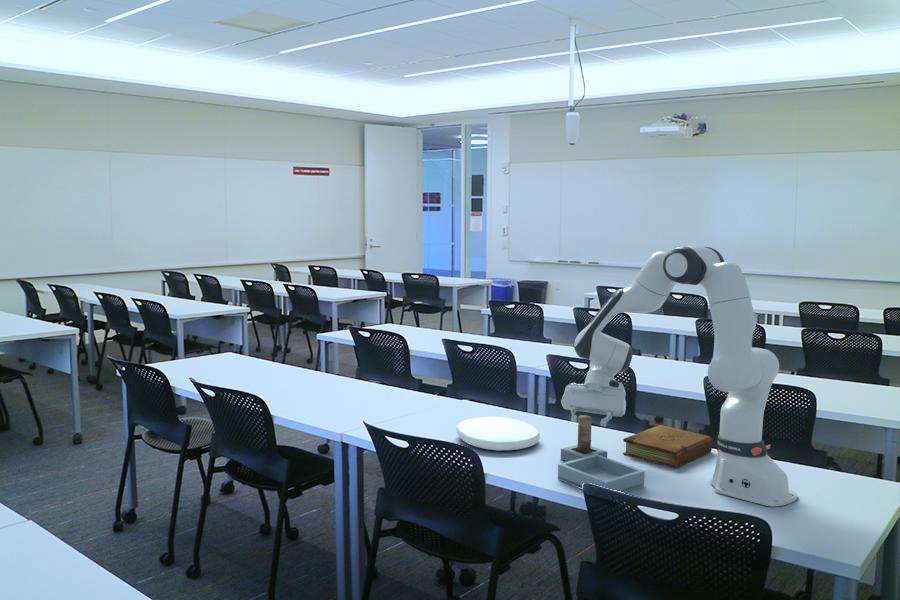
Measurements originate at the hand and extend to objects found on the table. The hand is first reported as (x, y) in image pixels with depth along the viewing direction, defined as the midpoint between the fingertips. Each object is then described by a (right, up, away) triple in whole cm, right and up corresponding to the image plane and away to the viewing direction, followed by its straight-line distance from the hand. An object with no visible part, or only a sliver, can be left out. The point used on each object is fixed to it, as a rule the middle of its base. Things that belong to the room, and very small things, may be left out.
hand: (588, 423), depth 229 cm
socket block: (-2, -11, -2) cm, 12 cm away
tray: (0, -14, -21) cm, 25 cm away
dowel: (-2, -11, -2) cm, 12 cm away
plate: (-27, -9, +18) cm, 34 cm away
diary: (+27, -11, +6) cm, 30 cm away
